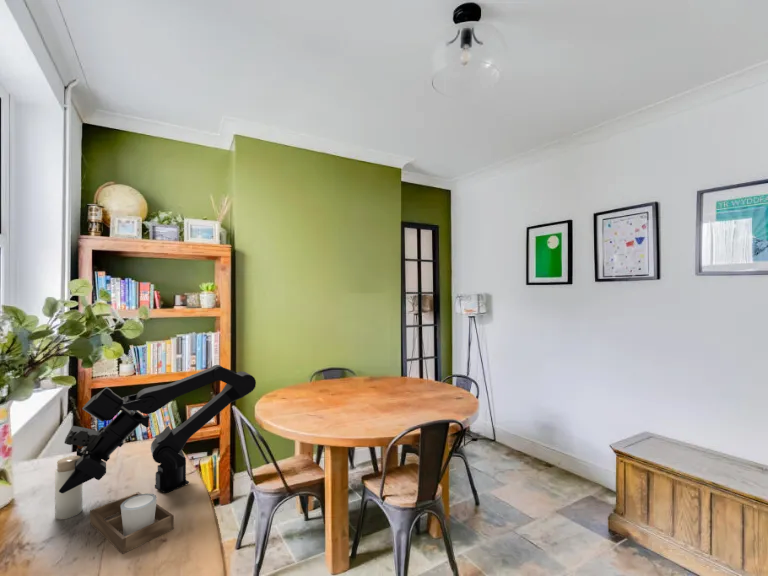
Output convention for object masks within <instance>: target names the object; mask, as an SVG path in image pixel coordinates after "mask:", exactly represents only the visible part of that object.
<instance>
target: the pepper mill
mask: <svg viewBox="0 0 768 576" xmlns="http://www.w3.org/2000/svg"><path fill="white" fill-rule="evenodd" d="M79 458H80V456H77V455H71V456H67V457H62V458H61V459H59V460H57V462H56V463H57V464H56V466H57V468H56V469H55V470H54V518H55V519H56V520H66V519H70V518H73V517H75V516H77V515H79V514H81V513H82V511H83V502H84V501H83V498H84V497H83V495H84V494H83V490H84V489H83V484H84V483H82V484H80V485H78V486H76V487H75V488H73V489H71V490H69V491H67V492H65V493H60V492H59V490H60V488H61V487H62V486H63V484H64V483H65V482H66V480H67V479H68V478H69V477H70V475H71V474H72V473H73V471H74V470H75V460H76V461H78V460H79Z"/></svg>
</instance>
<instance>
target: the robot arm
mask: <svg viewBox="0 0 768 576" xmlns="http://www.w3.org/2000/svg"><path fill="white" fill-rule="evenodd" d="M217 381H219V382H222V383H224V384H225V385H224V387H223V389H222V390H221V391H220V392H219V393H218V394H216V395H215V396H214V397H213V398H212V399H210V400H209V401H208V402H206V403H205V404H204V405H203V406H202V407H201V408H199V409H198V410H197V411H195V413H193V414H192V415H190V417H188V418H186V420H185V421H183V423H181V424H180V425H178V426H176V427H174V428H171V427H170V425H168V426H166V427H165V428H164V429H163V431H161V432H160V433H158V434H156V435H155V436H154V439H153V441H152V442H151V444H150V452H151V455H152V459H153V461H154V462H155V463H157V464H158V465H157V471H156V472H155V484H154V488H156V489H158V490H160V492H162V493H165V494H167V493H169V492H172V491H175V490H177V489H179V488H182V487H185V486H186V484H187V485H188V484H190V481H189V480H187V458H186V456H185V454H184V451H183V449H184V446H185V445H186V443H187V442H188V441H189V439H191V437H192V436H193V435H195V434H196V433H197V432H199V431H200V429H202V428H203V427H204V426H205V425H207V424H208V423H209V422H210V421H211V420H212V419H214V418H215V417H216V416H217V415H219V413H221V412H222V411H223V410H224V409H226V408H227V407H228V406H229V405H230V404H231V403H234V402H235V401H237V400H240V399H243V398H244V397H246V396H247V395H249V394H250V393H252V392H253V391H254V390H255V389H256V385H257V382H256V379H255V377H254V376H253V375H251V374H250V373H248V372H246V371H238V372H236V371H235V370H231V369H228V368H226V367H223V366H222V365H221V364H215V365H213V366H211V367H209V368H206V369H204V370H202V371H199V372H196V373H194V374H191V375H189V376H186V377H184V378H181V379H179V380H178V379H177V380H176V381H173V382H171V383H168V384H167V383H166V384H160V385H159V384H158V385H154V386H149V387H145V388H143V389H141V390H139V391H138V392H137V393H135V394H134V393H133V394H130V395H127V396H124V397H121V396H120V395H118V394H116V393H115V392H113V390H112V389H111V388H109V387H107V386H105V387H104V389H102V390H101V391H99V392H98V393H96V394H94V395H93V396H92V397H91V398H90V399H89V400H88V401H87V402H86V403H85V404H84V405H83V407H82V410H83V411H85V412H86V413H88V414H89V415H90V416H93V417H94V418H95V419H97V420H98V421H100V422H102V423H103V422H104V421H106V422H108V421H109V423H108V424H107V425H106V426H102V427H100V428H99V429H98V430H96V429H91V428H87V427H82V426H77V425H72V426H71V428H70V429H69V431H68V433H67V435H66V436H65V438H64V444H65V445H69V446H72V445H73V446H79V447H77V448H76V456H80V458H79V460H78V461H76V460H75V470H74V471H73V473H72V474H71V475H70V477H69V478H68V479H67V480H66V482H65V483H64V484H63V486H62V487H61V488H60V490H59V492H60V493H65V492H67V491H69V490H71V489H73V488H75V487H76V486H78V485H80V484H82V483H83V484H84V483H86V482H88V481H91V480H92V479H96V480H97V481H100V480H101V479H102V478H103V477H104V476H105V475H106V474H107V462H108V460H110V459H111V458H110V456H111V455H112V454H113V453H114V452H115V451H116V450H117V448H121V447H122V446H124V441H125V440H126V439H127V438H128V437H129V436H130V435H131V434H132V433H133V432H134V431H135V430H136V429H137V428H138V427H139V426H140V425H142V426H144V428H149V427H150V425H149V423H150V419H151V418H150V417H151V416H150V415H151V414H153V413H155V412H157V411H158V410H160V409H162V408H164V407H165V406H167V405H169V404H170V403H171V402H172V401H173V400H175V399H177V398H178V397H181V396H183V395H186V394H189V393H190V392H193V391H195V390H198V389H200V388H203V387H205V386H207V385H210V384H211V383H214V382H217ZM81 447H82V448H81Z"/></svg>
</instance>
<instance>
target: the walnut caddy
mask: <svg viewBox="0 0 768 576" xmlns="http://www.w3.org/2000/svg"><path fill="white" fill-rule="evenodd" d="M140 494H142V493H141V492H139V491H137V492H135V493H131V494H129V495H125V496H124V497H122V498H119V499H116V500H114V501H110V502H108V503H106V504H104V505H101V506H99V507H95V508H92V509H90V511H89V525H91V526H92V527H93V528H94V529H95V530H96V531H97V532H98V533H100V534H101V535H102V536H103V537H104V538H105V539H106V540H107V541H108V542H109V543H111V545H113V546H114V548H115V549H117V551H118V552H120V553H121V554H122V555H123V554H125V553H127V552H129V551H132V550H134V549H135V548H138V547H139V546H142V545H144V544H145V543H148V542H150V541H152V540H154V539H156V538H159V537H160V536H162V535H164V534H166V533H168V532H171V531H172V530H174V528H175V527H174V526H175V524H174V523H175V522H174V521H175V520H174V519H175V518H174V514H172V513H171V512H169V511H168V510H166V509H165V508H163V507H161V506H160V505H159V504H158V503H156V510H155V520H157V521H156V522H155V521H154V523H153V524H151V525H149V526H147V527H144V528H142V529H140V530H138V531H136V532H134V533H131V534H129V535H127V536H125V537H124V534H122V533H121V532H120V531H121V530H123V524H122V515H121V514H120V515H117V514H119V513H121V504H122V503H123V502H124V501H126V500H127V499H129V498H131V497H133V496H137V495H140ZM115 515H117V516H115ZM113 516H114V517H113ZM110 517H111V518H110ZM107 518H109V519H107Z"/></svg>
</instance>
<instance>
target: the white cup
mask: <svg viewBox="0 0 768 576" xmlns="http://www.w3.org/2000/svg"><path fill="white" fill-rule="evenodd" d="M157 499H158V498H157V494H154V493H141V494H140V495H137V496H133V497H131V498H129V499H127V500H126V501H124V502H123V503H122V504H121V512H120V513H121V514H120V515H122V524H123V529H122V533H123V536H124V537H125V536H127V535H129V534H131V533H134V532H136V531H138V530H140V529H142V528H144V527H147V526H149V525H151V524H153V523H155V520H156V519H155V510H156V504H157Z"/></svg>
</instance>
